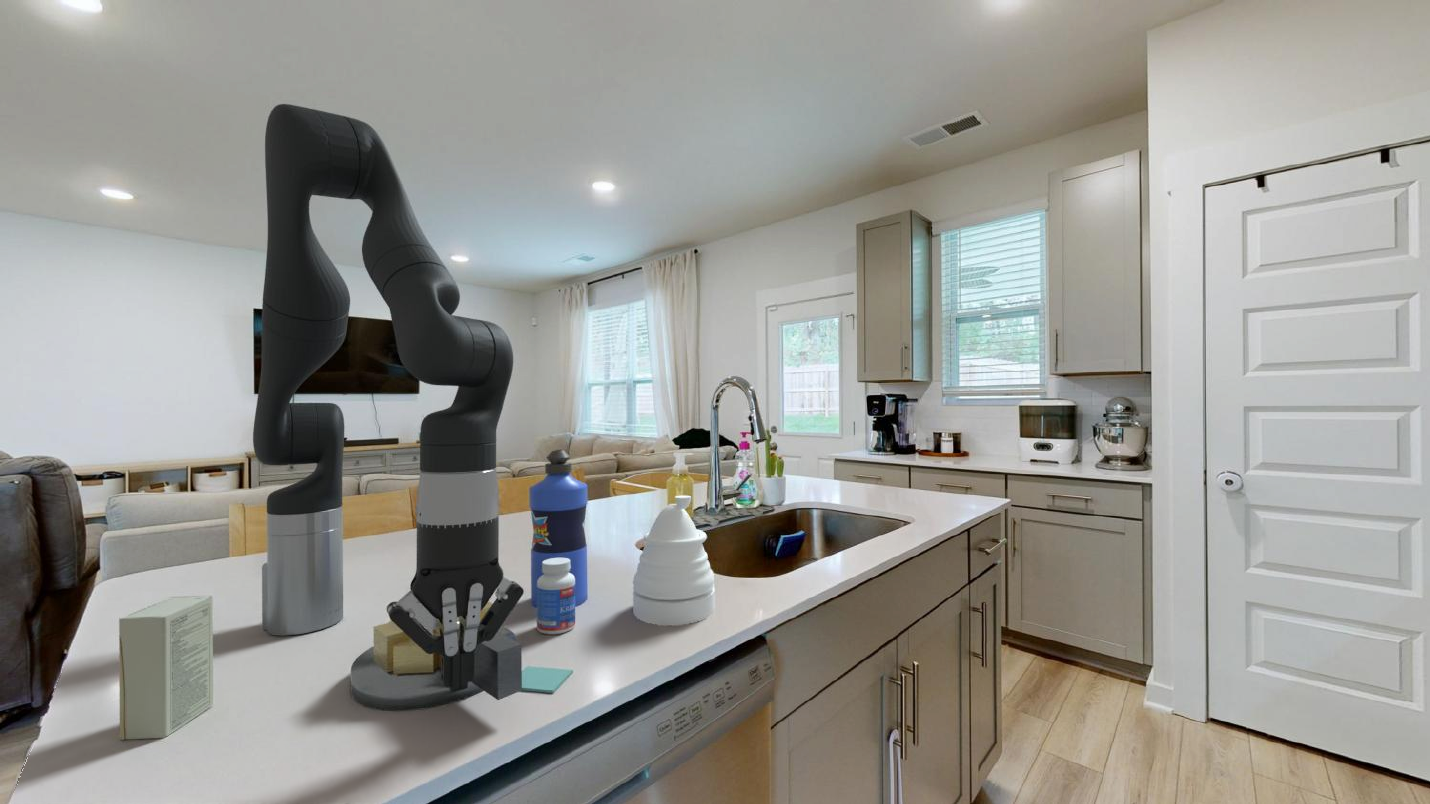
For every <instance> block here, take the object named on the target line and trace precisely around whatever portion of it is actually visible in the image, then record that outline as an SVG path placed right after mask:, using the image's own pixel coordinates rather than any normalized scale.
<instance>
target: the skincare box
mask: <svg viewBox="0 0 1430 804" xmlns="http://www.w3.org/2000/svg"><path fill="white" fill-rule="evenodd" d="M213 602H214V601H213V595H199V596H196V595H191V596H171V597H168V598H165V599H163V600H160V601H158V602H156V603H154V604H151V605H147V606H146V607H144V608H141V609H138V610H136V611H133V612H131V613H129V614H127V615H124V616H121V617H119V619H118V623H119V626H118V630H119V647H118V649H119V650H118V651H119V659H118V660H119V666H118V667H119V740H122V741H123V740H143V739H164V738H166V736H167V737H168V736H170V735H171V734H172V733H174V732H176V731H177V730H179V729H180V728H182V727H184V726H185V725H186V724H188V723H189V722H190V721H192V720H193V719H195V718H196V717H198V716H199V715H201V714H203V713H204V712H205V711H206V710H208V709H209V708H211V707H213V705H214V645H213V644H214V639H213V638H214V637H213V636H214V635H213V634H214V633H213V632H214V630H213V629H214V628H213V626H214V623H213V622H214V621H213V619H214V618H213V615H214V613H213V609H214V608H213V604H214V603H213Z"/></svg>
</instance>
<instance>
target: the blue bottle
mask: <svg viewBox="0 0 1430 804" xmlns="http://www.w3.org/2000/svg"><path fill="white" fill-rule="evenodd" d="M545 458H546V459H547V460H548V461H549V462H548V463H547V462H546V463H544V465H545V466H544V467H545V468H544V470H545V471H544V473H545V474H546V476H545V477H544V478H543V479H542V480H540V481H539V482H536V483H535V484H533V485H531V486H530V487H529V488H528V490H529V491H528V492H529V493H528V495H529V496H528V499H529V500H528V501H529V508H530V513H531V521H532V530H533V534H532V542H531V549H530V584H531V585H530V589H531V590H530V595H531V597H530V600H531V601H530V603H531V606H532V607H533V608H535V609H537V581H538V579H539V578H540V577H541V576H542V575H544V573H543V572H542V562H543V561H544V560H547V559H551V558H568V559H570V565H571V568H570V571H569V573H571V574H572V575H573V576H574V577H575V608H576V607H578V605H579V606H580V605H582V603H583V604H584V603H586V602H587V601H586V600H588V599H589V597H588V591H589V590H588V545H587V540H586V532H585V524H586V514H587V513H586V512H587V505H588V484H587V483H585V482H582V481H580V480H578V479H576V478H574V477H573V476H572V474H571V473H572V462H568V461H569V459H570V458H571V456H570V455H569V454H568V453H567V452H566V451H565V449H553V450H551V452H549V454H548V455H547V456H546V457H545ZM587 598H588V599H587ZM585 601H586V602H585Z"/></svg>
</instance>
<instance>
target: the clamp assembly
mask: <svg viewBox="0 0 1430 804" xmlns="http://www.w3.org/2000/svg"><path fill="white" fill-rule="evenodd" d="M493 603H494V602H490V601H488V602H487V604H486V605H485V607H484V608H483V609H482V610H481V611H480V621H481V620H482V618H483V617H484V615H485V614H486V613H487V611H488V610H489V608H490V607H491V605H492V604H493ZM479 623H480V622H479ZM457 624H458V631H457V637H458V634H459V622H457ZM433 635H435V636H440V635H439V628H435V629H433ZM458 645H459V641H458ZM373 646H374V662H375V663H377V664H378V665H379V666H380V667H381V668H382V669H384V670H385V671H386V672H390V671H393V674H398V673H423V672H434V671H435V670H436V669H437V668H438V667H439V668H440V669H441V654H439V653H433V654H427V653H426V652H425V651H424V650H423V649H421V648H420V647H419V646H418V645H417V644H416V643H415V642H414V641H413V640H412V639H411V638H410V637H409V636H408V635H406V634H405V633H404V632H403V631H402V630H401V629H400V628H399V627H398V626H397V625H396V624H395V623H394V622H393V621H391V620H389V621H388V622H385V623H383V624H379V625H375V626H373ZM522 655H523V654H522V643H521V642H518V641H517V640H516V641H515V640H513V639H511V638H509V637H507V636H505V635H503V634H501V633H499V632H497V633H496V634H495V636H494V637H493V639H492V640H490V641H483V642H482V643H480V644H479V645H477V647H476V648H475V651H474V677H473V680H472V681H470V682H472V683H473V684H475V685H476V686H478V687H479V688H481V689H482V690H484V692H485V693H486V694H488V695H490V696H491V697H493V698H494V699H495V700H497V701H500V700H502V699H505V698H507V697H510V696H512V695H514V694H517V693H519V692H521V691H523V690H522V671H523V667H522V666H523V665H522V661H523V660H522V657H523V656H522Z"/></svg>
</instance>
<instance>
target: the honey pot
mask: <svg viewBox="0 0 1430 804" xmlns="http://www.w3.org/2000/svg"><path fill="white" fill-rule="evenodd" d="M674 500H675V501H674V502H675V503H668V504H667V505H666V506H665V507H664V508H663V509H662V510H661V511H660V512H659V514H658V515H657V517H656V518H655V520H654V522H653V523H652V526H651V529H650V530H649V531H648V532H647V533H646V534H644V535H643V541H644V543H645V544H644V547H643V549H642V553H641V554H640V555H639V562H638V564H637V568H636V572H635V573H634V576H633V581H632V584H633V587H632V589H633V592H632V595H633V596H632V607H633V611H632V614H633V613H634V614H633V615H634V617H635V616H636V617H637V618H636V617H635V618H636V619H637V620H639V619H640V620H639V621H641V620H642V621H641V622H643V621H644V623H646V622H647V623H646V624H650V623H652V624H651V625H655V624H657V626H667V625H672V626H684V624H685V625H690V624H689V623H692V624H695V623H698V622H697V621H699V622H701V620H702V621H703V619H704V620H706V619H708V618H707V617H709V616H710V615H711V614H712V615H714V613H715V611H716V592H715V591H716V590H715V575H714V571H713V570H712V569H711V564H710V561H709V560H708V559H709V557H708V556H709V555H708V553H707V552H706V550H705V548H704V544H703V543H705V541H706V540H707V539H708V535H707V534H706V532H704V531H703V530H701V529H697V528H696V526H695V525H696V524H695V523H694V521H693V520H692V518H691V516H690V515H689V513H688V512H687V511H686V509H688V507H689V506H690V504H691V503H692V502H691V501H692V496H691V495H685V494H684V495H683V494H682V495H676V496H674ZM712 615H711V616H712ZM711 616H710V617H711ZM710 617H709V618H710ZM705 618H706V619H705ZM694 622H695V623H694Z"/></svg>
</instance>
